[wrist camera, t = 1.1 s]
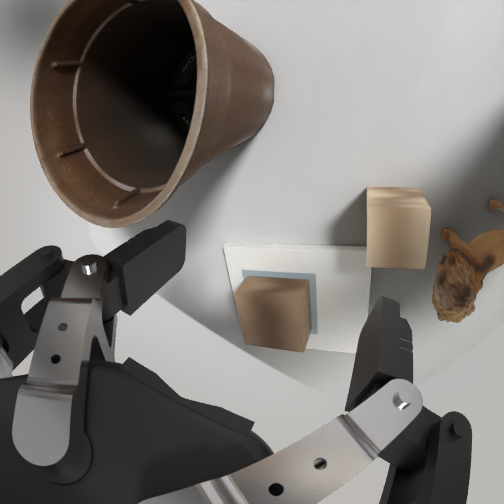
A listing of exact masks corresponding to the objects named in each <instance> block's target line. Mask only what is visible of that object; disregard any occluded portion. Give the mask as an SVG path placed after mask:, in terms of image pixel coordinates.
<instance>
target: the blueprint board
mask: <svg viewBox="0 0 504 504" xmlns="http://www.w3.org/2000/svg"><path fill="white" fill-rule="evenodd" d="M223 248H224V253H225V258H226V263H227V267H228V272H229V276H230V281H231V285H232V290H233V294H235V293H236V291H237V290H238V289H239V287H240V286H241V285H242V283H243V282H244V281H245V279H246V278H247V277H248V276H261V277H276V278H292V279H309V284H310V302H311V325H312V330H311V333H310V336H309V339H308V342H307V345H306V348H307V349H316V350H326V351H336V352H348V353H356V351H357V345H358V339H359V336H360V333H361V330H362V328H363V326H364V324H365V322H366V320H367V318H368V308H369V297H370V284H371V267H366V258H367V246H335V245H297V244H255V243H226V244H225V245H224V246H223ZM234 299H235V298H234ZM235 303H236V302H235ZM236 308H237V307H236ZM237 312H238V311H237ZM238 317H239V316H238ZM239 321H240V320H239ZM240 325H241V324H240ZM241 330H242V329H241ZM242 334H243V333H242ZM243 338H244V337H243Z"/></svg>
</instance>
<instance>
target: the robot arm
mask: <svg viewBox="0 0 504 504" xmlns="http://www.w3.org/2000/svg"><path fill="white" fill-rule="evenodd" d="M185 251H186V227H185V226H184V225H182V224H179V223H176V222H173V221H170V220H167V221H165V222H164V223H162V224H160V225H159V226H157V227H156V228H155V227H154V228H151V229H147V230H144V231H142V232H141V233H139V234H137V235H136V236H135V237H134V238H131V239H130V240H128V242H125V243H123V244H122V245H120V246H119V247H117V248H116V249H114V250H113V251H111V252H110V253H108V254H107V255H105V256H104V257H102V256H99V255H94V254H91V255H85V256H83V257H80V258H78V259H77V260H76V261H75V262H74V261H69V260H65V259H63V256H62V251H61V249H60V248H59V247H57V246H45V247H42V248H40V249H38V250H36V251H35V252H34V253H32V254H31V255H29V256H28V257H26V258H25V259H23V260H22V261H20V262H19V263H18V264H16V265H15V266H14V267H12V268H11V269H9V270H8V271H7V272H5V273H4V274H3V275H1V276H0V504H316V503H318V502H319V501H321V500H322V499H324V498H325V497H327V496H328V495H330V494H331V493H332V492H334V491H335V490H337V489H338V488H339V487H341V486H342V485H344V484H345V483H346V482H348V481H349V480H350V479H351V478H353V477H354V476H355V475H357V474H358V473H359V472H360V471H361V470H363V469H364V468H365V467H366V466H367V465H369V464H370V463H371V462H372V461H373V460H374V459H375V458H377V456H379V457H381V458H382V459H384V460H385V461H387V462H389V463H390V467H389V471H388V475H387V478H386V482H385V486H384V489H383V493H382V496H381V499H380V503H379V504H466V501H467V495H468V487H469V478H470V468H471V467H470V466H471V451H472V429H471V425H470V423H469V421H468V420H467V418H466V417H465V416H464V415H463V414H461V413H459V412H455V411H454V412H449V413H447V414H446V415H444V416H443V417H442V418H441V417H440V416H438V415H436V414H435V413H433V412H431V411H430V410H428V409H427V408H425V407H424V406H423V401H422V396H421V393H420V391H419V390H418V388H417V387H416V386H415V385H414V384H413V352H412V350H413V345H412V330H411V328H410V326H409V324H408V322H407V320H406V319H404V318H401V317H400V308H399V302H396V301H394V300H391V299H388V298H385V297H382V296H380V297H379V299H378V300H377V302H376V304H375V306H374V308H373V310H372V311H371V313H370V315H369V317H368V319H367V320H366V322H365V324H364V326H363V328H362V330H361V333H360V336H359V339H358V345H357V351H356V357H355V363H354V368H353V373H352V379H351V384H350V388H349V393H348V398H347V402H346V406H345V411H348V412H349V413H348V414H346V415H340V416H338V417H336V418H335V419H333V420H332V421H330V422H329V423H327V424H326V425H324V426H322V427H321V428H319V429H317V430H316V431H314V432H312V433H311V434H309V435H308V436H306V437H304V438H302V439H301V440H299V441H297V442H295V443H294V444H292V445H290V446H288V447H286V448H284V449H283V450H281V451H279V452H277V453H275V454H274V453H273V451H272V450H271V448H270V447H269V446H268V445H267V444H266V442H265V441H264V440H263V439H262V438H260V437H259V436H258V435H257V434H256V433H254V432H253V431H251V429H252V427H253V425H254V422H253V421H251V420H248V419H246V418H244V417H241V416H239V415H236V414H234V413H232V412H230V411H228V410H225V409H223V408H221V407H217V406H213V405H209V404H204V403H200V402H196V401H192V400H189V399H185V398H182V397H181V396H179V395H178V394H177V393H176V392H175V391H174V390H173V389H172V388H170V387H169V386H168V385H167V384H166V383H165V382H164V381H163V380H162V379H161V378H160V377H159V376H158V375H157V374H156V373H154V372H153V371H151V370H149V369H147V368H146V367H144V366H142V365H141V364H139V363H137V362H136V361H134V360H133V359H131V358H130V357H129V358H128V359H127V360H126V361H125V362H124V363H123V364H121V363H116V362H115V359H114V350H115V337H116V326H117V314H116V313H117V312H119V311H120V310H122V311H123V312H125V313H127V314H128V315H132V314H133V313H134V312H135V311H136V310H137V309H138V308H139V307H140V306H141V305H142V304H143V303H145V302H146V301H147V300H148V299H149V298H150V297H151V296H152V295H153V294H154V293H156V292H157V291H158V290H159V289H160V288H161V287H162V286H163V285H164V284H165V283H167V282H168V281H169V280H170V279H171V278H172V277H173V276H174V275H175V274H177V273H178V272H179V271H180V270H181V268H182V266H183V264H184V261H185ZM39 286H40V288H41V291H42V294H43V296H44V298H43V299H42V300H40V301H39V302H38V303H37V304H36V305H34V306H33V307H32V308H31V309H30V310H29V311H28V312H26V313H25V314H23V312H22V310H21V304H22V302H23V300H24V298H26V297H27V296H28V295H29V294H31V293H32V292H33V291H34V290H36V289H37V288H38V287H39ZM33 350H34V353H33V357H32V361H31V365H30V370H29V374H26V375H20V376H14V377H13V376H12V375H11V373H12V371H13V370H14V369H15V368H16V367H17V366H18V365H19V364H20V363H21V362H22V361H23V360H24V359H25V358H26V357H27V356H28V354H30V353H31V352H32V351H33Z"/></svg>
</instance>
